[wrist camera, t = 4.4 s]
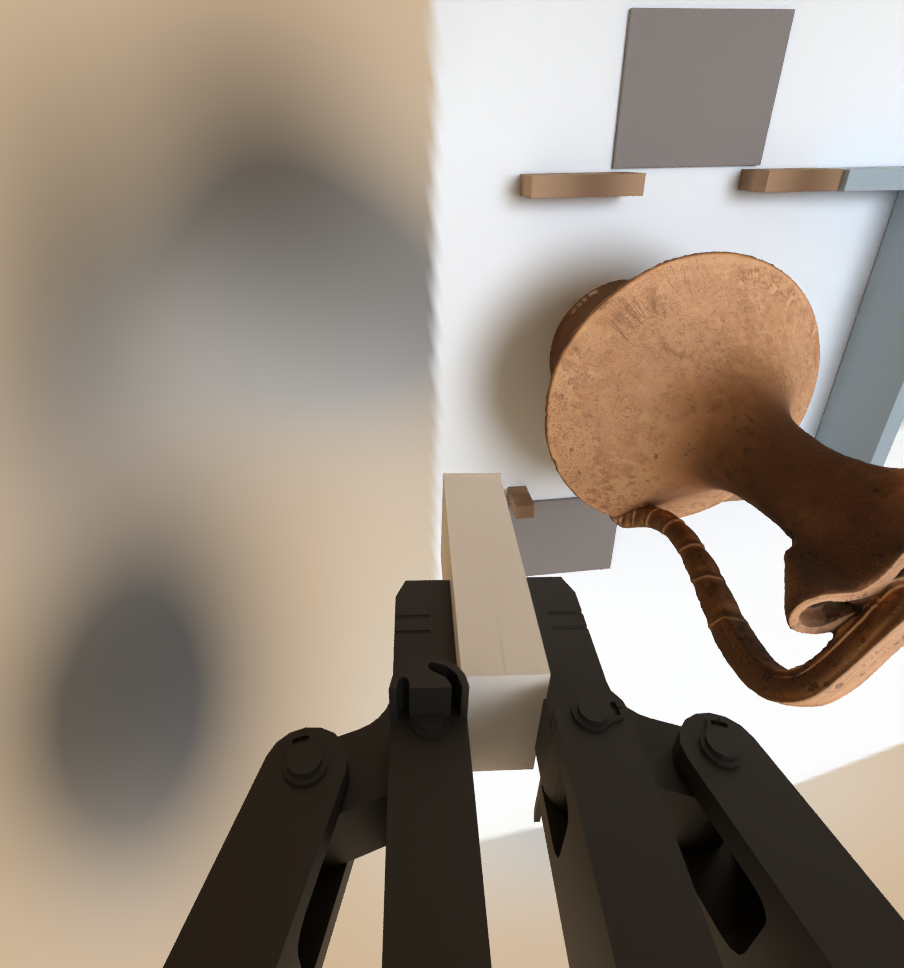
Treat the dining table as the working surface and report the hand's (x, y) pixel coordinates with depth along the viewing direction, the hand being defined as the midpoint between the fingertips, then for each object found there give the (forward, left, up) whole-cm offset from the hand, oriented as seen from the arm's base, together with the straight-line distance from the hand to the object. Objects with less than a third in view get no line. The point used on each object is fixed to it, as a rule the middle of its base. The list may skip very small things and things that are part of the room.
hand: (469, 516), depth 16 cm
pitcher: (+15, +6, -28) cm, 32 cm away
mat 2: (+7, +21, -28) cm, 35 cm away
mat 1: (+23, -8, -28) cm, 37 cm away
